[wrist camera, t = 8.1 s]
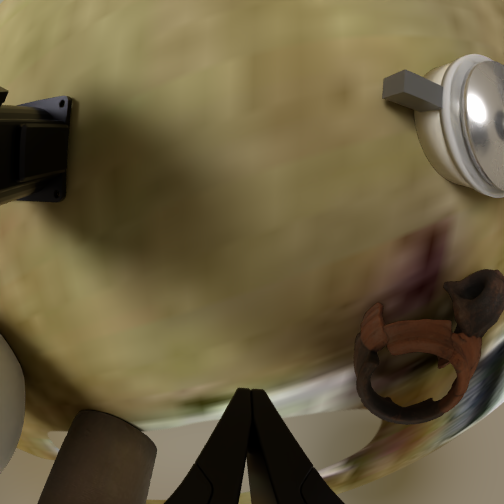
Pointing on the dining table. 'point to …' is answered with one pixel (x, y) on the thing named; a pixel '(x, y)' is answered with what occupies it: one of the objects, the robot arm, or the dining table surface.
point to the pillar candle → (101, 463)
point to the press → (441, 119)
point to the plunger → (485, 119)
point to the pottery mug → (431, 345)
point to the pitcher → (10, 402)
